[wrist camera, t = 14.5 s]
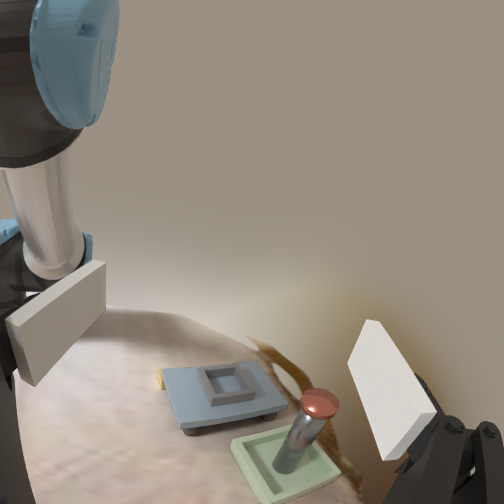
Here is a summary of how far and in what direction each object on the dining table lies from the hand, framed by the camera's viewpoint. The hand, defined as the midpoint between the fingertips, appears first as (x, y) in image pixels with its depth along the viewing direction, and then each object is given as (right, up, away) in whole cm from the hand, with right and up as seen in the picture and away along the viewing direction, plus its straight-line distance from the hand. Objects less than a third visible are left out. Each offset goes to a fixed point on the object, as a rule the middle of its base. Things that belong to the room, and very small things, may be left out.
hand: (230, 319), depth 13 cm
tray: (+5, -29, +21) cm, 36 cm away
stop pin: (+6, -28, +20) cm, 35 cm away
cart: (-5, -23, +33) cm, 40 cm away
